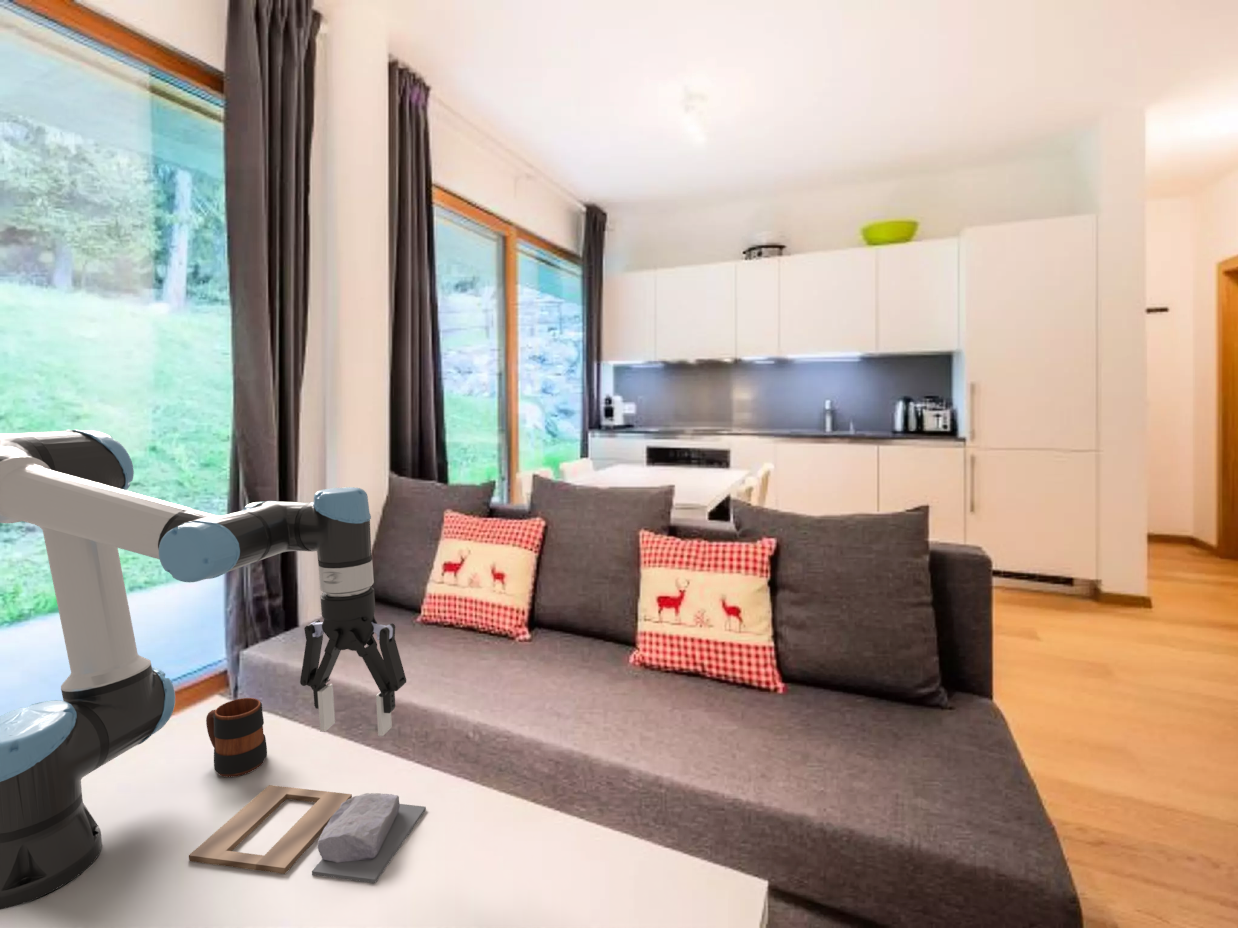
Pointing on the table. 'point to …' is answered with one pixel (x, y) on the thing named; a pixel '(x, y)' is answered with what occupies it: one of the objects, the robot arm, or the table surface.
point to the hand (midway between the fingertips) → (356, 728)
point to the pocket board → (254, 814)
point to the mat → (375, 867)
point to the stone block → (358, 827)
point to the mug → (237, 737)
